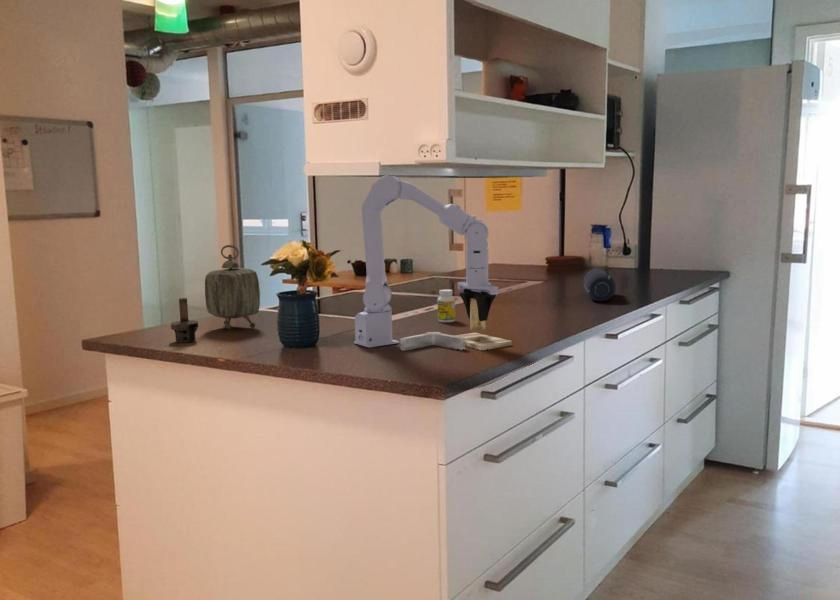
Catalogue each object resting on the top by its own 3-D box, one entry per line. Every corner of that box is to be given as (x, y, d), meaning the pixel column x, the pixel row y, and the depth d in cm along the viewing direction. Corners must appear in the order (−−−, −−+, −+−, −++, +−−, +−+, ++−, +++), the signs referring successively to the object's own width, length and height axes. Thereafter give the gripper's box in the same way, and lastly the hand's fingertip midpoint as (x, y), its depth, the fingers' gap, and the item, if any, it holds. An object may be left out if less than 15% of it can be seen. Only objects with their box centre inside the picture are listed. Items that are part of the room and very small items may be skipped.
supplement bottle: (458, 320, 239) (457, 289, 238) (450, 323, 234) (449, 291, 233) (442, 319, 242) (442, 288, 240) (434, 322, 237) (434, 290, 236)
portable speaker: (616, 303, 268) (617, 274, 266) (587, 303, 269) (587, 274, 268) (609, 293, 292) (610, 267, 291) (582, 293, 294) (582, 267, 292)
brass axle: (476, 330, 200) (476, 299, 199) (467, 328, 203) (466, 298, 202) (488, 328, 202) (488, 298, 201) (479, 326, 205) (478, 296, 204)
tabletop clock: (261, 327, 233) (257, 244, 230) (240, 332, 226) (235, 246, 222) (226, 324, 241) (221, 243, 237) (204, 329, 233) (199, 245, 229)
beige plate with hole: (511, 345, 200) (511, 340, 200) (481, 350, 194) (481, 345, 194) (474, 336, 212) (474, 332, 212) (445, 341, 207) (445, 337, 206)
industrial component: (205, 340, 215) (202, 297, 213) (184, 345, 209) (181, 301, 208) (183, 337, 221) (180, 295, 219) (162, 341, 215) (159, 298, 213)
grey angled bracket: (465, 350, 195) (465, 338, 195) (400, 350, 196) (400, 339, 196) (465, 342, 204) (464, 331, 204) (402, 343, 205) (402, 332, 205)
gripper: (507, 268, 197) (507, 321, 199) (472, 264, 209) (472, 314, 210) (485, 270, 193) (486, 324, 195) (451, 266, 205) (451, 317, 207)
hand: (477, 319), depth 202 cm, fingers closed on brass axle, 4 cm apart
